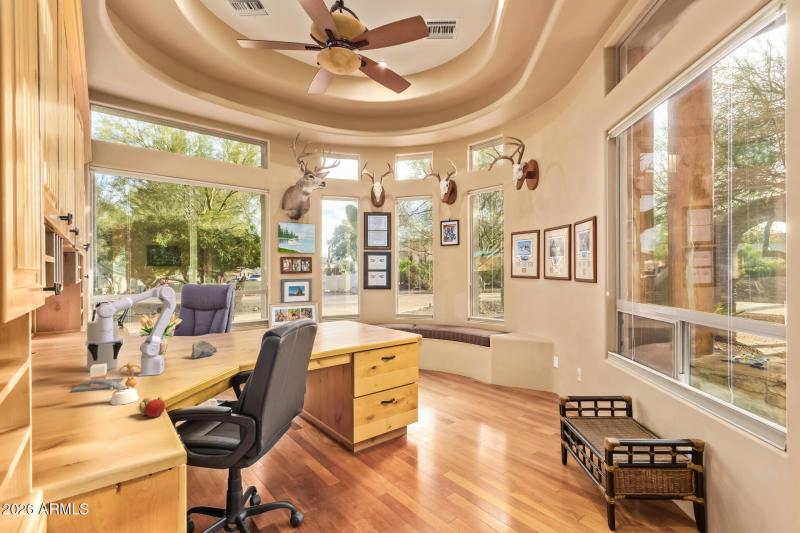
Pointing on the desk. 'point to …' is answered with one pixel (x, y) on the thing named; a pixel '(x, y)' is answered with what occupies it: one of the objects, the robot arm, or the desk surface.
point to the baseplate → (92, 388)
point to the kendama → (152, 407)
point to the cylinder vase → (101, 347)
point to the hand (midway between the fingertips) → (105, 359)
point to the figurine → (131, 381)
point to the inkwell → (120, 396)
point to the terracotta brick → (97, 378)
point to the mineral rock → (202, 350)
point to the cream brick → (98, 370)
